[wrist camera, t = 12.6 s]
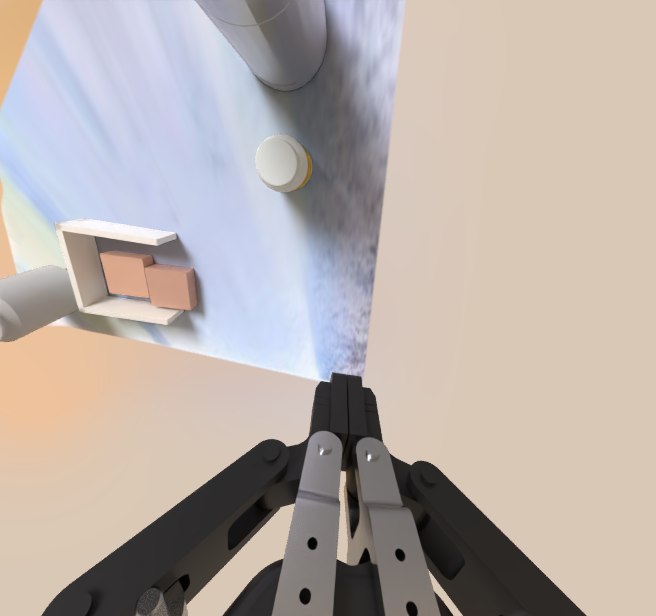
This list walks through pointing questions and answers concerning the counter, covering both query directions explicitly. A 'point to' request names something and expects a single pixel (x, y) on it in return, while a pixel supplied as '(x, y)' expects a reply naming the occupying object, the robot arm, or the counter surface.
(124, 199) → the counter surface
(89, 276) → the white u-shaped bracket
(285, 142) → the supplement bottle
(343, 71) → the counter surface
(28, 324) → the can
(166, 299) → the tile
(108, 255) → the tile
